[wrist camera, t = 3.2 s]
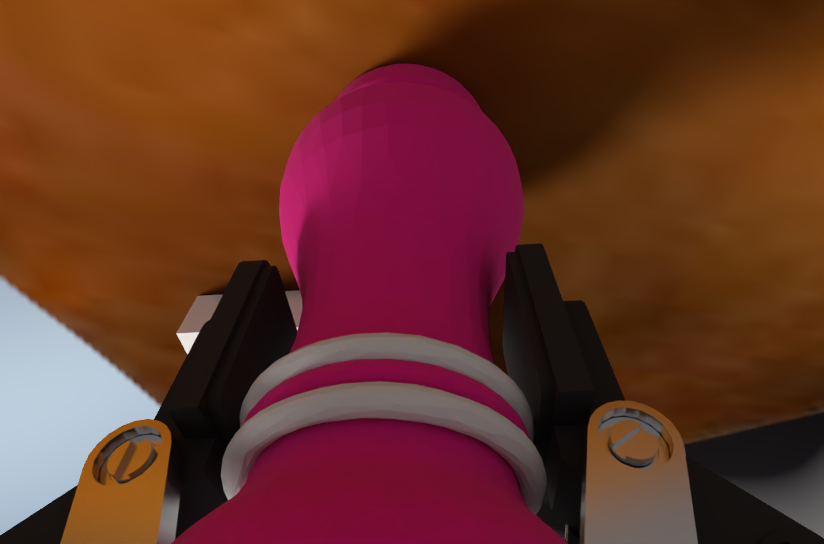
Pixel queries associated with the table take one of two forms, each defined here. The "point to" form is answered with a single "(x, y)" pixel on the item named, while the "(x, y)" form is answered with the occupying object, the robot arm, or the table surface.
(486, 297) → the pepper mill
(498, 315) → the table surface
